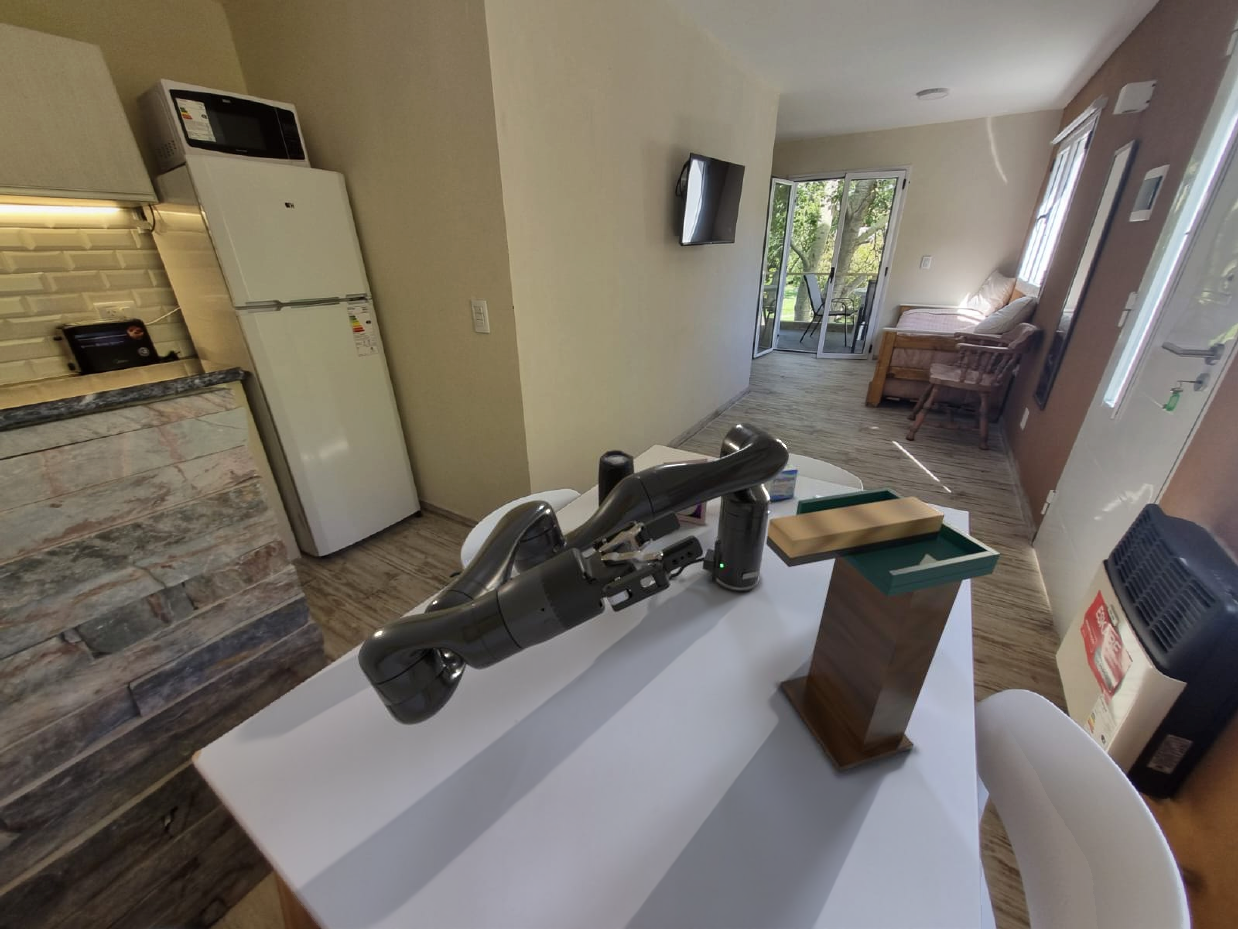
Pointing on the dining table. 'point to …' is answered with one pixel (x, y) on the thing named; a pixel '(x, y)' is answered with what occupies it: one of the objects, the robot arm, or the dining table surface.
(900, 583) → the tray
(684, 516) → the greeting card
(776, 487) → the medicine box
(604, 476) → the portable speaker
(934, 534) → the eraser
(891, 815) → the dining table surface
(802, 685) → the stand
